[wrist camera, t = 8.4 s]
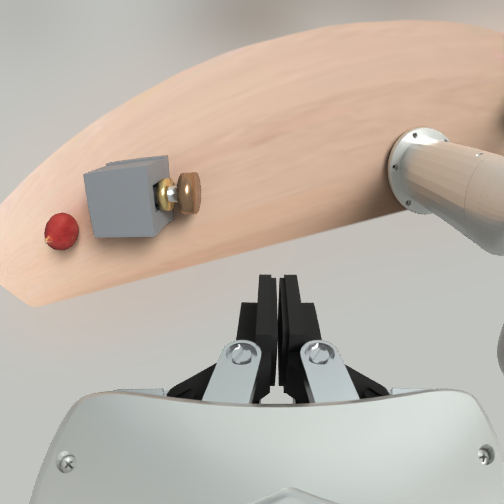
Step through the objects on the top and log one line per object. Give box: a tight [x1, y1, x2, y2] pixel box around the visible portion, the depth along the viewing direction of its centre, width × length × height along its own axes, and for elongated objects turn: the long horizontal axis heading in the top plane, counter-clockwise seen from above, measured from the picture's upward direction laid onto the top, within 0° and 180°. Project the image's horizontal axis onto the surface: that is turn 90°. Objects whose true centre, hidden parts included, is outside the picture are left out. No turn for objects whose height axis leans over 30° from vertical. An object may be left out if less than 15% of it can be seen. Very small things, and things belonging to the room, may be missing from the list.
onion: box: [45, 213, 79, 250], centre depth 35 cm, size 6×6×8 cm
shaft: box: [153, 172, 201, 214], centre depth 33 cm, size 13×5×5 cm, turn 91°
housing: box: [83, 155, 174, 238], centre depth 33 cm, size 9×9×7 cm
